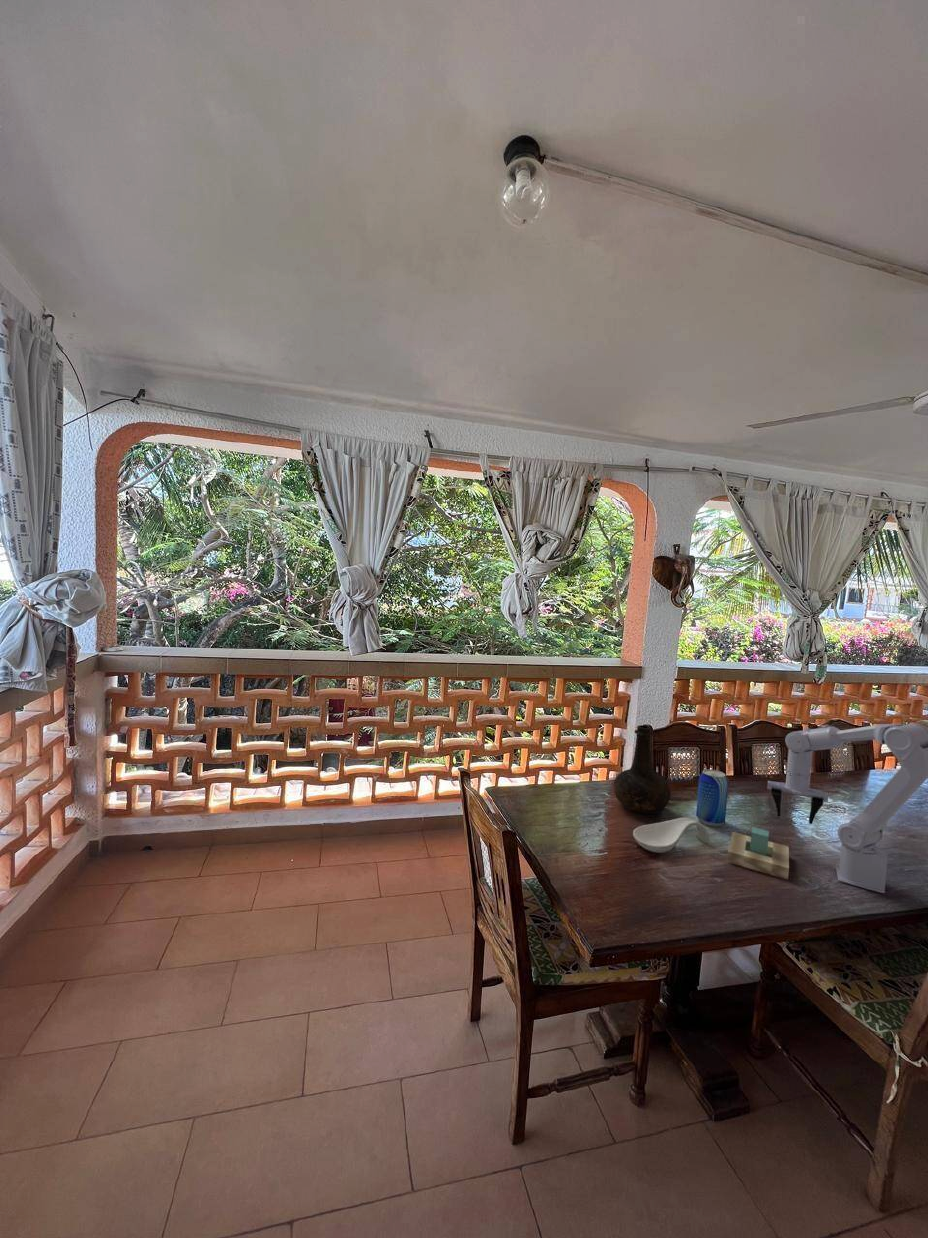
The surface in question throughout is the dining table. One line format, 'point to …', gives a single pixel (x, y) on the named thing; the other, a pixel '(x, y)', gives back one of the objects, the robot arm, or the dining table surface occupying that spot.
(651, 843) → the spoon rest
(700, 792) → the beer can
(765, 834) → the teal block
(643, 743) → the glass bottle
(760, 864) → the board
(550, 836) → the dining table surface
